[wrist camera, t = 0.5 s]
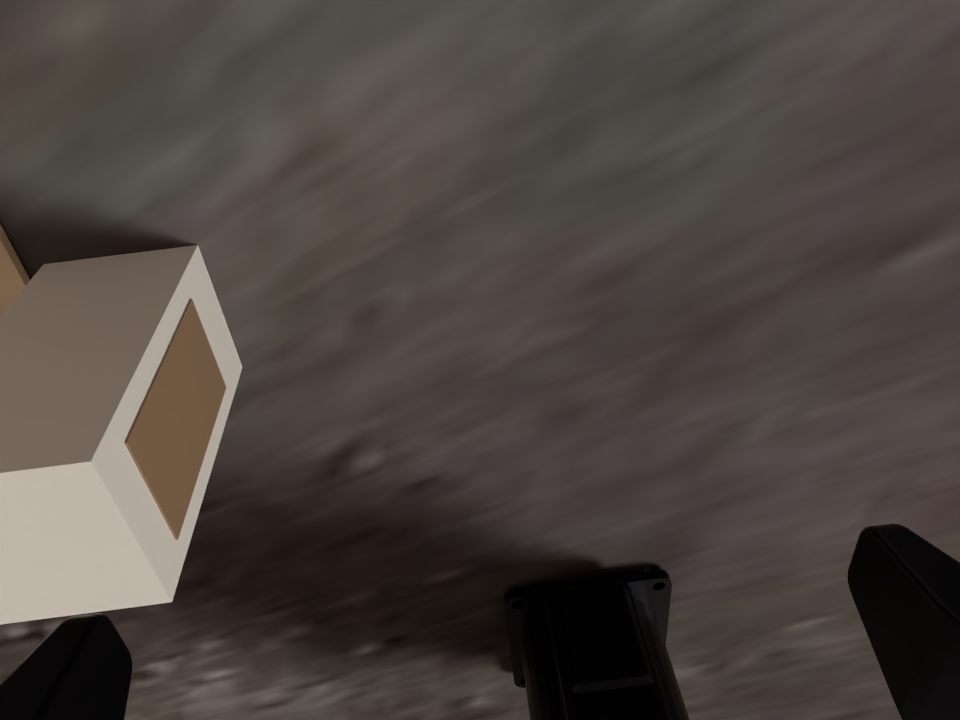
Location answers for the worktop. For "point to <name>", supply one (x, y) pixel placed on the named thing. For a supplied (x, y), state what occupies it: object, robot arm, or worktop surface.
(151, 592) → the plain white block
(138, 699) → the worktop surface
